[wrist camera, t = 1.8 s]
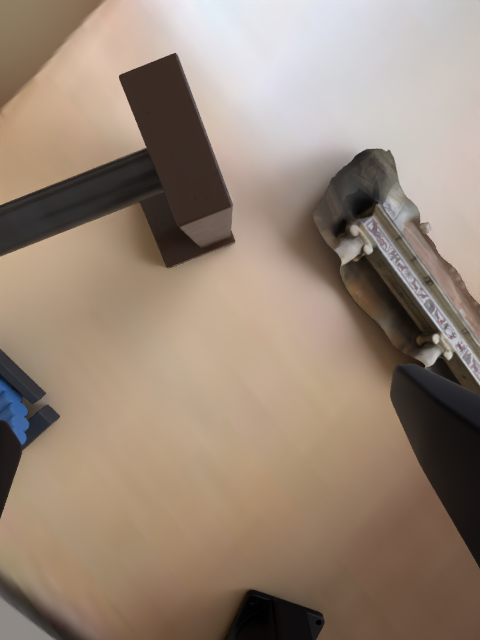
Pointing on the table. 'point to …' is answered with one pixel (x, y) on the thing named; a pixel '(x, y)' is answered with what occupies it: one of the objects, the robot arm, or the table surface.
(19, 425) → the blue ridged ring
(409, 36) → the table surface
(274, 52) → the table surface
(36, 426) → the tape cradle
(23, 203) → the hook stand
